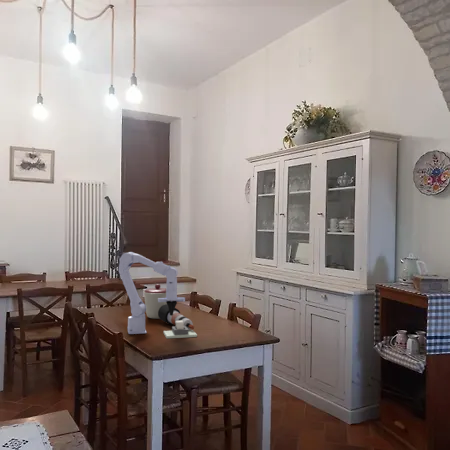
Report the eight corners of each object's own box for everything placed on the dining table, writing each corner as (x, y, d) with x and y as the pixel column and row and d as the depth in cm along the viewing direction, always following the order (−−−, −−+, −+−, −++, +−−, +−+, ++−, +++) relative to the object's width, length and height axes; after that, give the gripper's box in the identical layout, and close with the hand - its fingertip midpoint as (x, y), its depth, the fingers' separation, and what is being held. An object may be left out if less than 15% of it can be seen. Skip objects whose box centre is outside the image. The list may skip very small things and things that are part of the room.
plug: (177, 334, 250) (176, 322, 250) (176, 331, 255) (175, 320, 255) (183, 333, 251) (183, 322, 251) (182, 331, 256) (182, 320, 256)
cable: (188, 340, 256) (181, 325, 253) (161, 323, 284) (155, 309, 281) (203, 330, 261) (196, 315, 258) (175, 314, 289) (169, 301, 286)
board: (166, 338, 246) (166, 331, 246) (163, 333, 257) (163, 326, 257) (196, 336, 250) (197, 329, 250) (192, 331, 261) (192, 325, 261)
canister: (174, 315, 308) (174, 282, 308) (168, 320, 290) (168, 286, 290) (147, 314, 310) (147, 282, 310) (139, 319, 292) (139, 285, 292)
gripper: (159, 291, 251) (158, 316, 251) (186, 290, 255) (185, 315, 255) (157, 289, 258) (157, 314, 258) (183, 288, 262) (183, 313, 262)
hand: (171, 315), depth 257 cm, fingers closed
